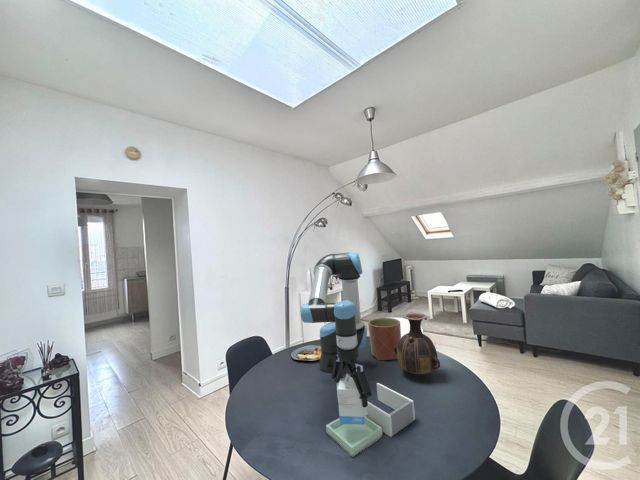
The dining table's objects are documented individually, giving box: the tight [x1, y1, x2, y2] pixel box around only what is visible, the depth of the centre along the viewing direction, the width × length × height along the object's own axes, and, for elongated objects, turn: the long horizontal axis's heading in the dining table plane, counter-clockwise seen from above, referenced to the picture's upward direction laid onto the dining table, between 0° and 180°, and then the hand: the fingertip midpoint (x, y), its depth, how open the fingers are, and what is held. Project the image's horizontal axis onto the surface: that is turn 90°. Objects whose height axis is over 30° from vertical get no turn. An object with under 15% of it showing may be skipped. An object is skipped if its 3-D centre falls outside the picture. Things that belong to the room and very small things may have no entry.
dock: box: [365, 382, 416, 438], centre depth 102 cm, size 18×14×7 cm
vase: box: [394, 312, 441, 375], centre depth 132 cm, size 23×19×30 cm
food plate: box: [290, 344, 321, 362], centre depth 166 cm, size 25×23×4 cm
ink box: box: [336, 373, 364, 424], centre depth 93 cm, size 9×8×13 cm
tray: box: [325, 416, 384, 458], centre depth 93 cm, size 14×14×3 cm
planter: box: [367, 317, 402, 361], centre depth 158 cm, size 19×19×20 cm
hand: (351, 407), depth 93 cm, fingers closed on ink box, 11 cm apart
